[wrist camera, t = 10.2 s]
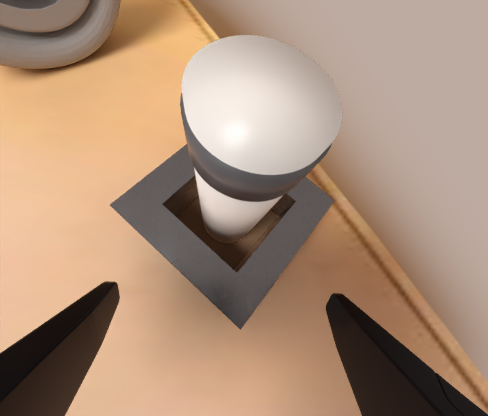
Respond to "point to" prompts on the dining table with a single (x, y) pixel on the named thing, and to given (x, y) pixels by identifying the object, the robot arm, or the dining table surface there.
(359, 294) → the dining table surface
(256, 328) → the dining table surface
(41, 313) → the dining table surface
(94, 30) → the turbocharger housing
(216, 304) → the frame
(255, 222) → the white rounded cylinder
